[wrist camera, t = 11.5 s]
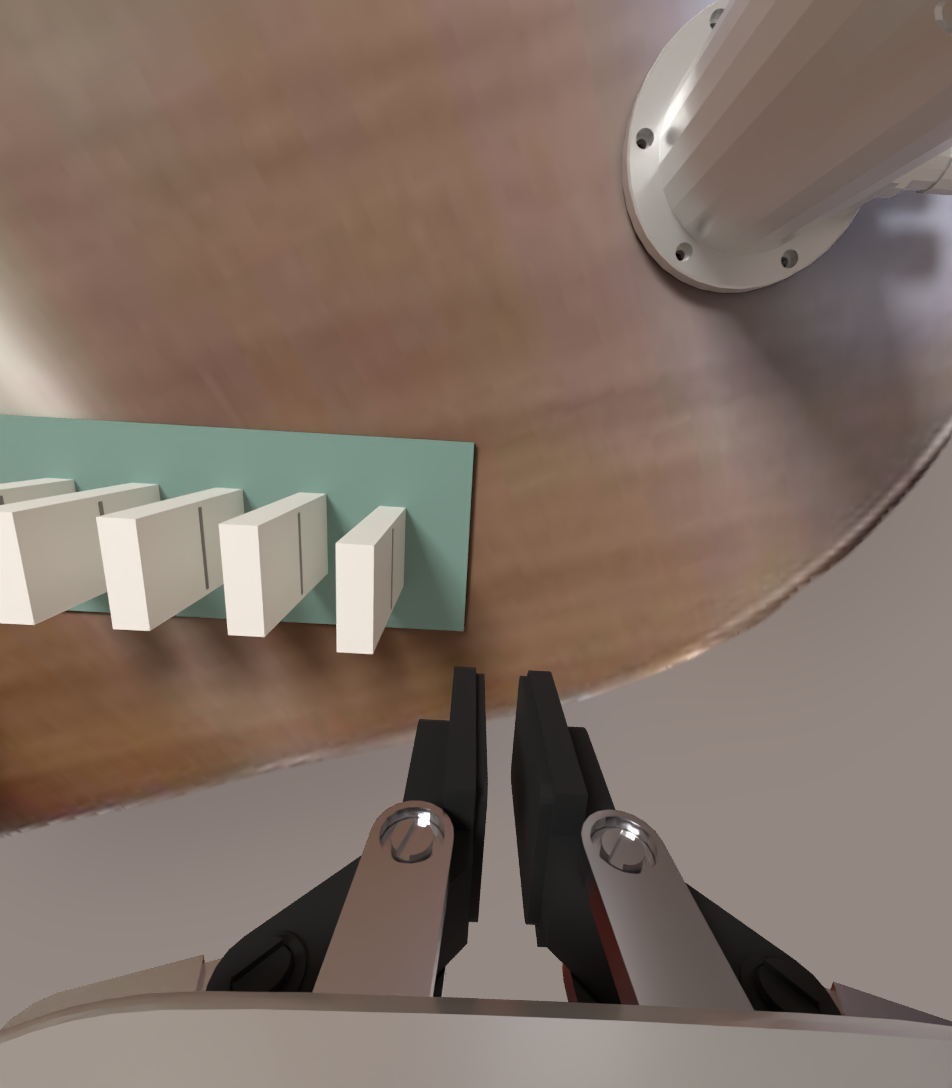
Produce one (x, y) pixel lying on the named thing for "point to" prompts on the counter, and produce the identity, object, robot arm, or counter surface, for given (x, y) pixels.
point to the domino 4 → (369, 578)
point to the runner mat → (278, 493)
